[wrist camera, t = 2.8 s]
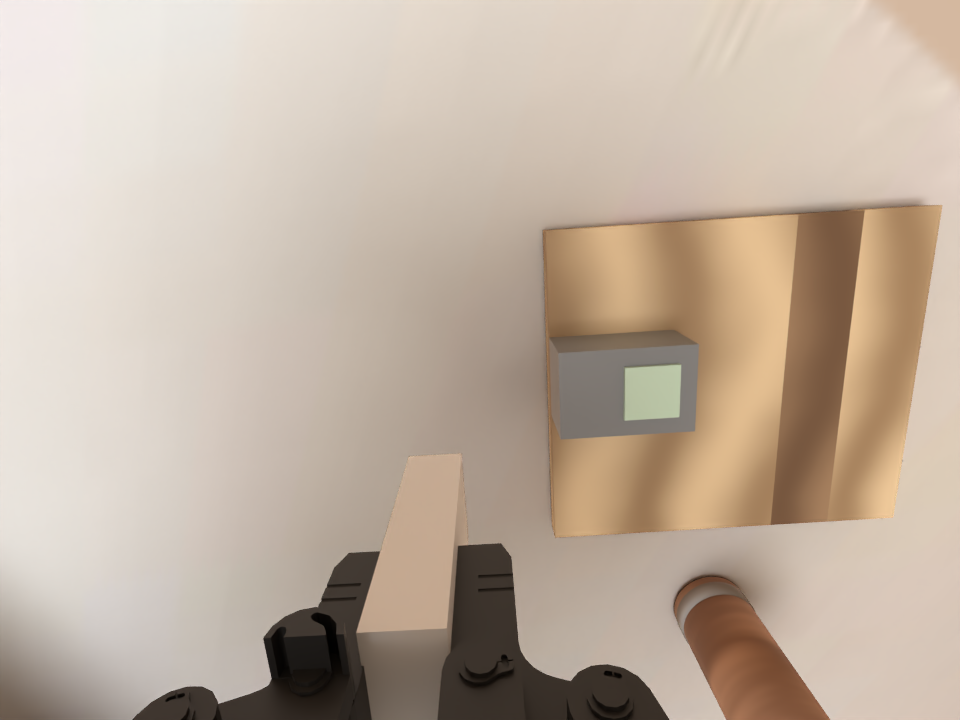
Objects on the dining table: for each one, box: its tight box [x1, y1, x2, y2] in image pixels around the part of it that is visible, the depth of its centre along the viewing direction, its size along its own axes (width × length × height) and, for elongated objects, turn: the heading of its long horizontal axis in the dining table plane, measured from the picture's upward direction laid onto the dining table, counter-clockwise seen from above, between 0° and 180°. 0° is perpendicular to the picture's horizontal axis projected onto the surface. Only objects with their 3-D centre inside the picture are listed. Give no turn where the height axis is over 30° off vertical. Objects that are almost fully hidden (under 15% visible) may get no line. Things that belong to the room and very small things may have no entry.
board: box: [543, 205, 942, 538], centre depth 27 cm, size 18×16×1 cm
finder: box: [549, 330, 699, 440], centre depth 25 cm, size 6×4×3 cm, turn 94°
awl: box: [674, 577, 830, 720], centre depth 26 cm, size 4×4×10 cm
